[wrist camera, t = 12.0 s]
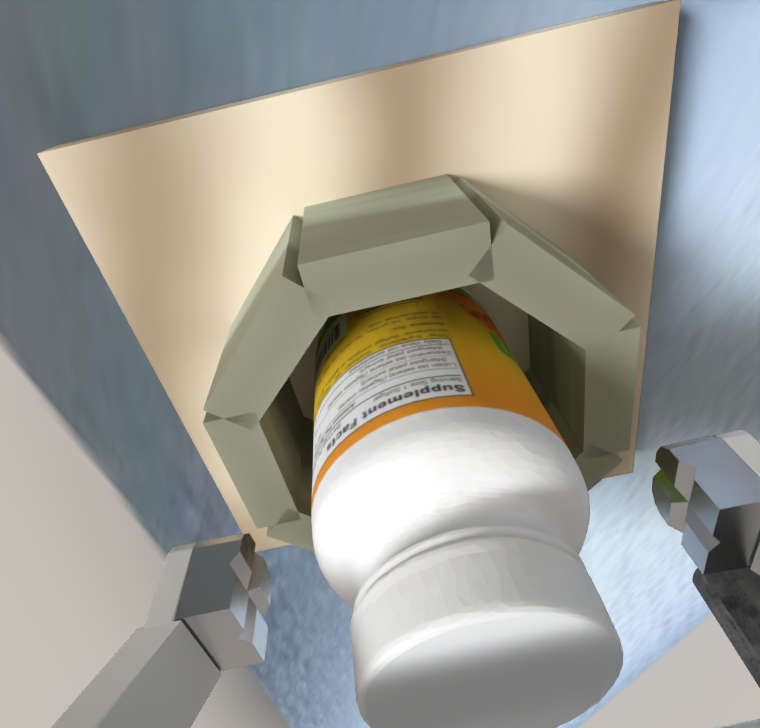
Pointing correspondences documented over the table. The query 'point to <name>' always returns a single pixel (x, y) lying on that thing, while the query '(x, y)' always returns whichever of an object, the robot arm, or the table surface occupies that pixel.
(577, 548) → the supplement bottle
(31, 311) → the table surface
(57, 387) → the table surface
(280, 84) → the table surface
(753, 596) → the microphone
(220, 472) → the socket board
